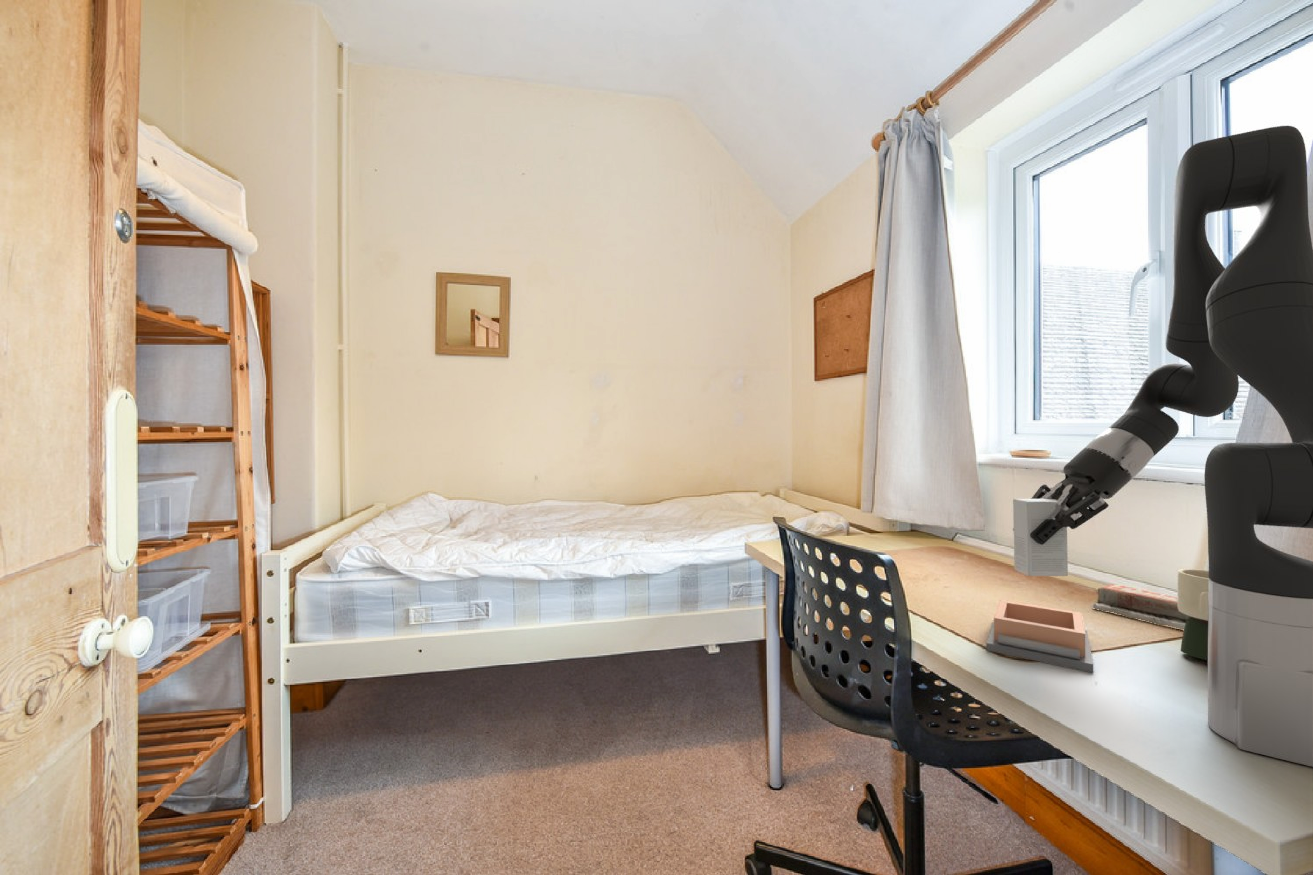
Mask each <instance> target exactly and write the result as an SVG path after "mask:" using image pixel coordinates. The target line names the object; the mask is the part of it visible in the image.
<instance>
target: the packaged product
mask: <svg viewBox="0 0 1313 875" xmlns="http://www.w3.org/2000/svg"><path fill="white" fill-rule="evenodd" d="M1096 593H1097V601H1095V602H1094V601H1093V602H1092V605H1091V608H1092V607H1093V608H1095V609H1099V610H1103V611H1109V612H1114V613H1117V614H1121V615H1124V616H1127V617H1131V618H1137V619H1141V620H1145V621H1149V622H1152V623H1156V624H1159V625H1168V626H1172V627H1176V628H1180V629H1184V627H1185V623H1186V621H1187V620H1188V618H1189V617H1191V616H1188V615H1186V614H1184V613H1182V612H1180V611H1179V610H1178V597H1176V596H1171V595H1167V594H1162V593H1159V592H1153V591H1149V590H1144V589H1139V588H1133V587H1130V586H1125V585H1121V584H1114V583H1110V584H1108V585H1104V586H1101V587H1099V588H1097V592H1096ZM1095 609H1094V610H1095ZM1099 610H1098V611H1099ZM1103 611H1102V612H1103ZM1127 617H1126V618H1127ZM1131 618H1130V619H1131ZM1159 625H1158V626H1159Z"/></svg>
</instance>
